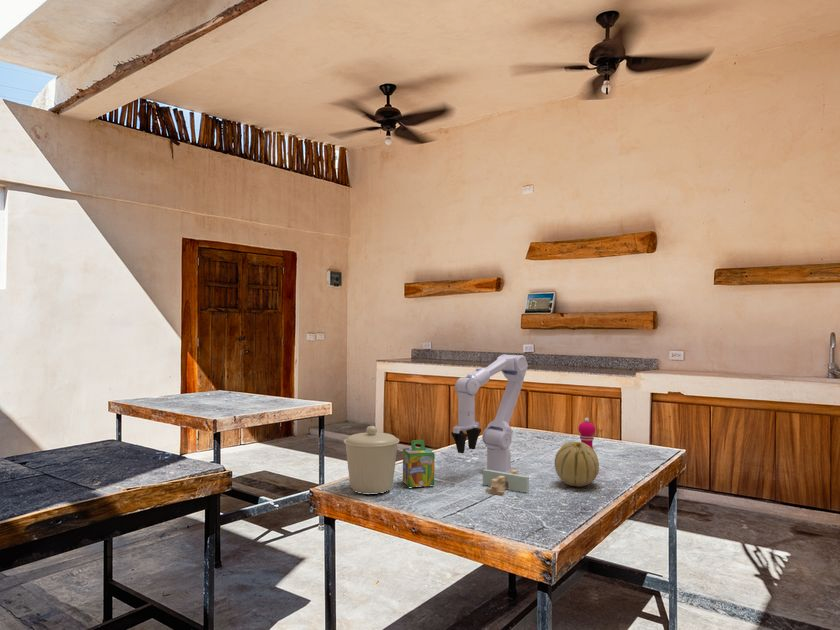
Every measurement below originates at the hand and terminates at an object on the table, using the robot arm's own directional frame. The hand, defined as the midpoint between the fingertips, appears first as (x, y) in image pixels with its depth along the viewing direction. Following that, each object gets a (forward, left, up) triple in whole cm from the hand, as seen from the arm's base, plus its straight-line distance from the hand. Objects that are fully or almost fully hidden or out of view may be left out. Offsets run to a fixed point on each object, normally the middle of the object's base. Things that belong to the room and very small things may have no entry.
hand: (466, 450), depth 200 cm
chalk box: (+15, -10, -10) cm, 21 cm away
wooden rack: (+2, +16, -10) cm, 19 cm away
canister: (+30, -18, -10) cm, 36 cm away
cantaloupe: (-15, +34, -10) cm, 39 cm away
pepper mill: (-34, +31, -10) cm, 47 cm away
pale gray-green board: (+2, +16, -10) cm, 19 cm away
